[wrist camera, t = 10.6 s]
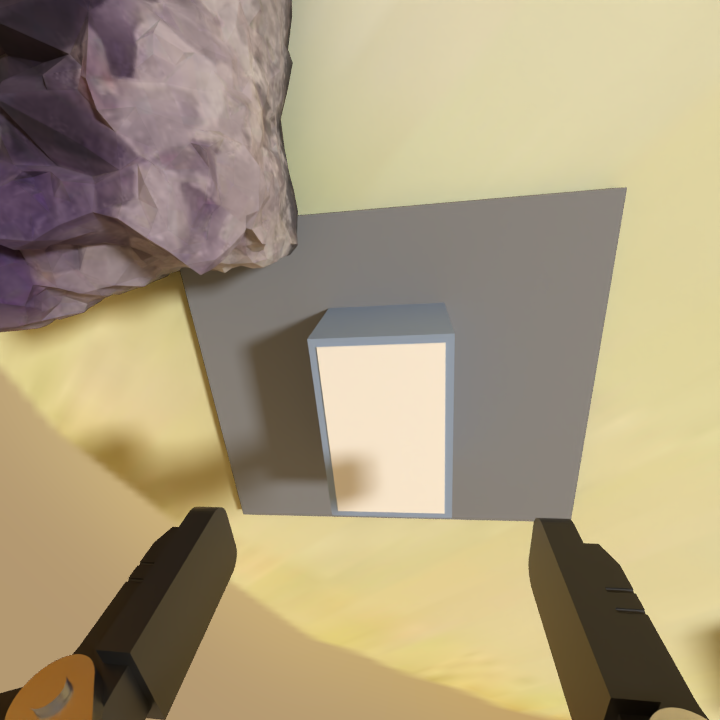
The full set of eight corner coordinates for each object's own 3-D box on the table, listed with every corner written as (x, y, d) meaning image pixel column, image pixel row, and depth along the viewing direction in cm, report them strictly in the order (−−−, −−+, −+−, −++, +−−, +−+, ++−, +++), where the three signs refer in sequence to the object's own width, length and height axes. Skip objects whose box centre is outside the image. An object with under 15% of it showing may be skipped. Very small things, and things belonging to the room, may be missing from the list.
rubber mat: (176, 226, 17) (168, 226, 16) (618, 187, 14) (627, 187, 14) (247, 506, 23) (243, 514, 22) (566, 513, 21) (570, 522, 20)
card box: (345, 457, 20) (331, 516, 16) (328, 308, 17) (306, 339, 13) (443, 457, 19) (451, 519, 16) (444, 302, 16) (455, 334, 13)
